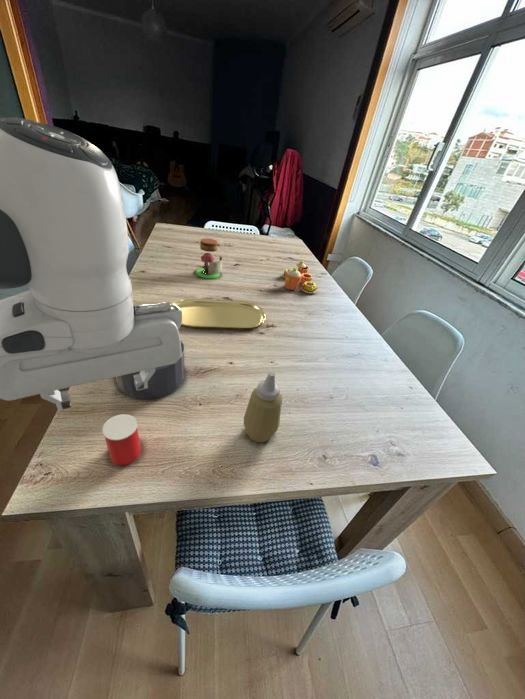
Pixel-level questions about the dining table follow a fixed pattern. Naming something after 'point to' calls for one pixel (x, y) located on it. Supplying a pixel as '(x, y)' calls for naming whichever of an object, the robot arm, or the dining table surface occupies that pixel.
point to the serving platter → (220, 314)
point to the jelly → (122, 439)
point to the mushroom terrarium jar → (209, 260)
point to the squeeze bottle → (263, 410)
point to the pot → (155, 381)
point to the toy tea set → (299, 278)
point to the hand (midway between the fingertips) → (105, 395)
